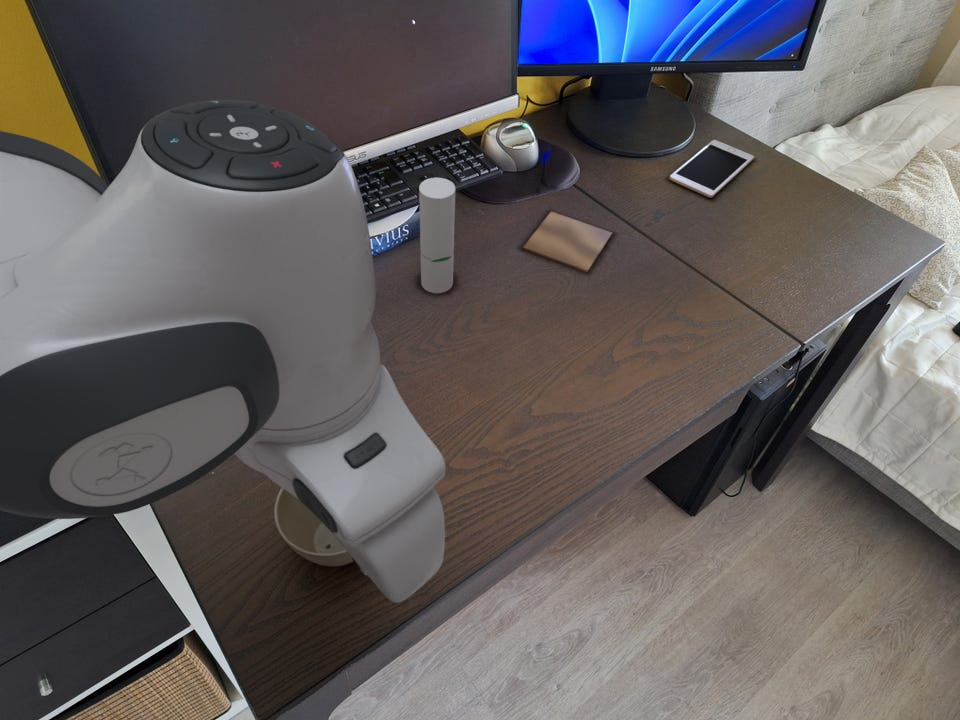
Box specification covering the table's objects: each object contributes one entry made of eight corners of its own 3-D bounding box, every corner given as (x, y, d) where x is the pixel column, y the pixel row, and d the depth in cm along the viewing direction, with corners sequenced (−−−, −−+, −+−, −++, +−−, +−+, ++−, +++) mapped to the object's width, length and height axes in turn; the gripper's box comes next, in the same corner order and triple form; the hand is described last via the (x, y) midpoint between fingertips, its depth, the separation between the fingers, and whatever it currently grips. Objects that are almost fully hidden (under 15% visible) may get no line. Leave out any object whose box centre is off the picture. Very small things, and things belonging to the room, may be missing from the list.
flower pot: (373, 481, 70) (368, 442, 64) (405, 566, 64) (402, 531, 58) (277, 513, 67) (263, 475, 61) (301, 606, 61) (288, 572, 55)
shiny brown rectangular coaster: (587, 273, 93) (587, 270, 93) (522, 249, 96) (523, 246, 96) (612, 234, 99) (612, 232, 99) (550, 213, 102) (551, 211, 102)
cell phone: (754, 159, 115) (755, 156, 115) (711, 199, 107) (712, 195, 106) (713, 142, 118) (714, 139, 118) (668, 179, 110) (669, 176, 109)
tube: (415, 287, 90) (412, 192, 78) (429, 268, 92) (428, 174, 81) (444, 296, 89) (446, 202, 77) (457, 277, 91) (461, 183, 80)
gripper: (155, 316, 40) (211, 445, 50) (369, 561, 31) (382, 655, 41) (249, 270, 43) (283, 400, 53) (468, 481, 34) (457, 587, 44)
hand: (328, 513), depth 47 cm, fingers open, 8 cm apart
